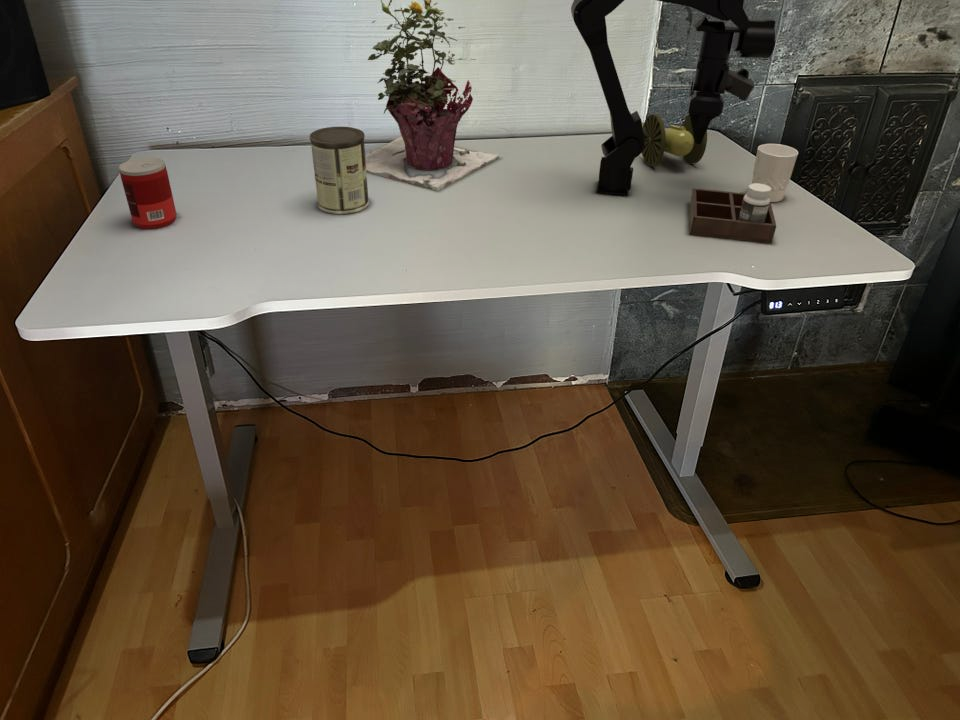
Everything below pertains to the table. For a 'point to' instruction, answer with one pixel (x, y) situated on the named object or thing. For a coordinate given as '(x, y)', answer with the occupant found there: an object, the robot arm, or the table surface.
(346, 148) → the coffee can
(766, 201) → the pill bottle
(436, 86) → the potted flower
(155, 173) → the canned food
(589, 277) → the table surface
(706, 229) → the rack
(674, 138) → the cannon
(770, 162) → the white cup
